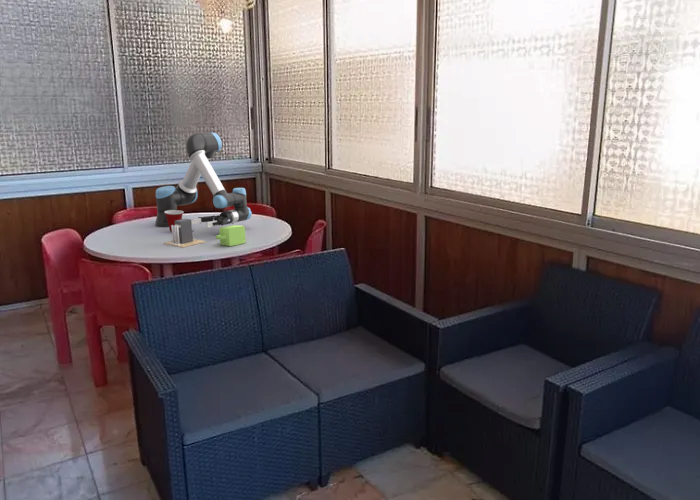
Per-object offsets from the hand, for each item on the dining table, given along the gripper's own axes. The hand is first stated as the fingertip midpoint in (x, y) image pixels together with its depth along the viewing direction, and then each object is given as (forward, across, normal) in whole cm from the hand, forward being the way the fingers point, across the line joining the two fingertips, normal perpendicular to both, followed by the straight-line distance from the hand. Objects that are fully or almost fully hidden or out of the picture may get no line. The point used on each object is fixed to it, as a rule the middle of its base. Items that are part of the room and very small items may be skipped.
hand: (199, 223), depth 323 cm
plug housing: (+11, 0, -8) cm, 13 cm away
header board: (+11, 0, -9) cm, 14 cm away
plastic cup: (-5, +29, -9) cm, 31 cm away
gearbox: (-3, -23, -9) cm, 25 cm away
